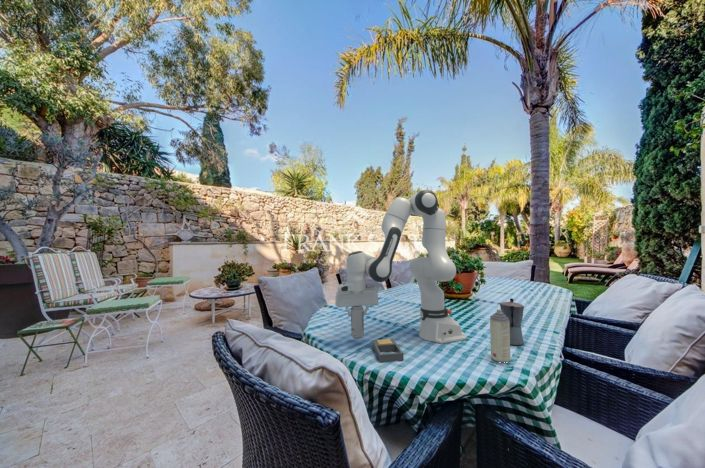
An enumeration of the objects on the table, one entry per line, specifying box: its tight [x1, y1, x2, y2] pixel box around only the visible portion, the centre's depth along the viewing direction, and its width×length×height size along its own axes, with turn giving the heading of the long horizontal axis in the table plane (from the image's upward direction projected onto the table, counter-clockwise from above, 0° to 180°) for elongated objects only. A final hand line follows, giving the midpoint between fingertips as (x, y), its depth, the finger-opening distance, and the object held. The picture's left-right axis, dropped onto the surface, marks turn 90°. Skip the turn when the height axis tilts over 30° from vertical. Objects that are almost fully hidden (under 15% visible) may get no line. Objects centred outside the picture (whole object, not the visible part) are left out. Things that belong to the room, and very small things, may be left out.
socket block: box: [371, 338, 404, 363], centre depth 118 cm, size 10×15×3 cm, turn 7°
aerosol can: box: [489, 308, 511, 364], centre depth 109 cm, size 7×7×20 cm
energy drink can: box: [350, 306, 365, 340], centre depth 129 cm, size 6×6×15 cm
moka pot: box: [499, 297, 525, 346], centre depth 125 cm, size 10×15×20 cm, turn 155°
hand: (357, 315), depth 129 cm, fingers closed on energy drink can, 6 cm apart
